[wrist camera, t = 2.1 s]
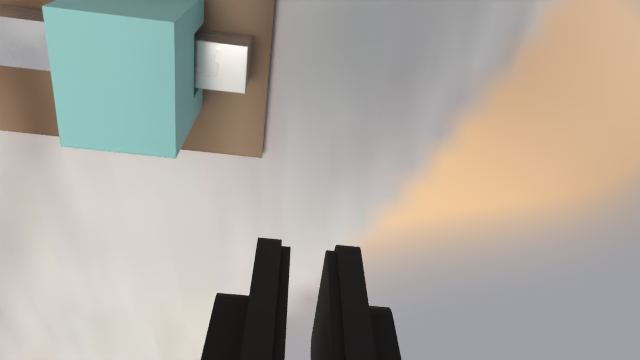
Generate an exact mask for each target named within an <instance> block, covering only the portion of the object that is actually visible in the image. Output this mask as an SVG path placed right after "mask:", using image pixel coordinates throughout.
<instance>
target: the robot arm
mask: <svg viewBox="0 0 640 360" xmlns="http://www.w3.org/2000/svg"><path fill="white" fill-rule="evenodd" d="M281 243H282V240H279V239H268V238H258V241H257V248H256V254H255V261H254V268H253V274H252V281H251V287H250V294H249V296H247V295H235V294H223V293H217V295H216V298H215V302H214V306H213V310H212V314H211V319H210V323H209V327H208V331H207V336H206V340H205V344H204V348H203V353H202V357H201V360H284V358H285V340H286V321H287V303H288V284H289V266H290V247H285V246H281ZM311 360H401V356H400V350H399V346H398V340H397V335H396V330H395V325H394V320H393V316H392V312H391V309H390V308H388V307H377V306H369V304H368V297H367V290H366V283H365V277H364V269H363V262H362V255H361V249H360V247H353V246H343V245H336V246H335V250H334V251H328V250H327V251H326V253H325V259H324V265H323V271H322V277H321V283H320V289H319V295H318V301H317V307H316V313H315V319H314V326H313V332H312V338H311Z"/></svg>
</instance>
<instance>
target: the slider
mask: <svg viewBox="0 0 640 360" xmlns="http://www.w3.org/2000/svg"><path fill="white" fill-rule="evenodd" d="M42 10H43V18H44V25H45V33H46V40H47V48H48V55H49V63H50V70H51V78H52V85H53V93H54V100H55V108H56V115H57V123H58V130H59V138H60V145H61V147H70V148H80V149H89V150H99V151H108V152H118V153H128V154H137V155H147V156H156V157H166V158H176V157H177V155H178V153H179V151H180V149H181V147H182V145H183V143H184V141H185V139H186V137H187V135H188V133H189V131H190V130H191V128H192V126H193V124H194V122H195V120H196V118H197V116H198V114H199V112H200V110H201V108H202V103H203V89H201V88H194V34H195V33H196V31H197V30H198V29H199V28H200V27H201V25H202V24H203V23H204V0H55V1H53V2H50V3H48V4H46V5H43V6H42Z"/></svg>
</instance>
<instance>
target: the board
mask: <svg viewBox="0 0 640 360" xmlns="http://www.w3.org/2000/svg"><path fill="white" fill-rule="evenodd" d="M53 1H55V0H0V4H6V5H14V6H22V7H30V8H39V9H42V6H43V5H46V4H48V3H50V2H53ZM274 6H275V0H204V23H203V24H202V25H201V27H200V29H208V30H216V31H224V32H232V33H240V34H248V35H252V49H251V65H250V79H249V82H248V85H247V88H246V91H245V93H236V92H227V91H219V90H210V89H203V103H202V108H201V110H200V112H199V114H198V116H197V118H196V120H195V122H194V124H193V126H192V128H191V130H190V131H189V133H188V135H187V137H186V139H185V141H184V143H183V145H182V147H181V149H183V150H192V151H202V152H211V153H221V154H230V155H240V156H249V157H259V158H262V153H263V142H264V129H265V117H266V105H267V92H268V80H269V68H270V55H271V43H272V31H273V18H274ZM0 130H3V131H12V132H22V133H31V134H41V135H50V136H59V130H58V123H57V115H56V108H55V100H54V93H53V85H52V78H51V71H45V70H36V69H28V68H19V67H10V66H2V65H0Z"/></svg>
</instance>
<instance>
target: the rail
mask: <svg viewBox="0 0 640 360" xmlns="http://www.w3.org/2000/svg"><path fill="white" fill-rule="evenodd" d="M251 49H252V35H248V34H240V33H232V32H224V31H216V30H208V29H200V28H199V29H198V30H197V31H196V33H195V34H194V88H201V89H210V90H219V91H227V92H236V93H245V91H246V88H247V85H248V82H249V79H250V65H251ZM0 65H2V66H10V67H19V68H28V69H36V70H45V71H51V70H50V63H49V55H48V48H47V40H46V33H45V25H44V18H43V10H42V9H39V8H30V7H22V6H14V5H6V4H0Z"/></svg>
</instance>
